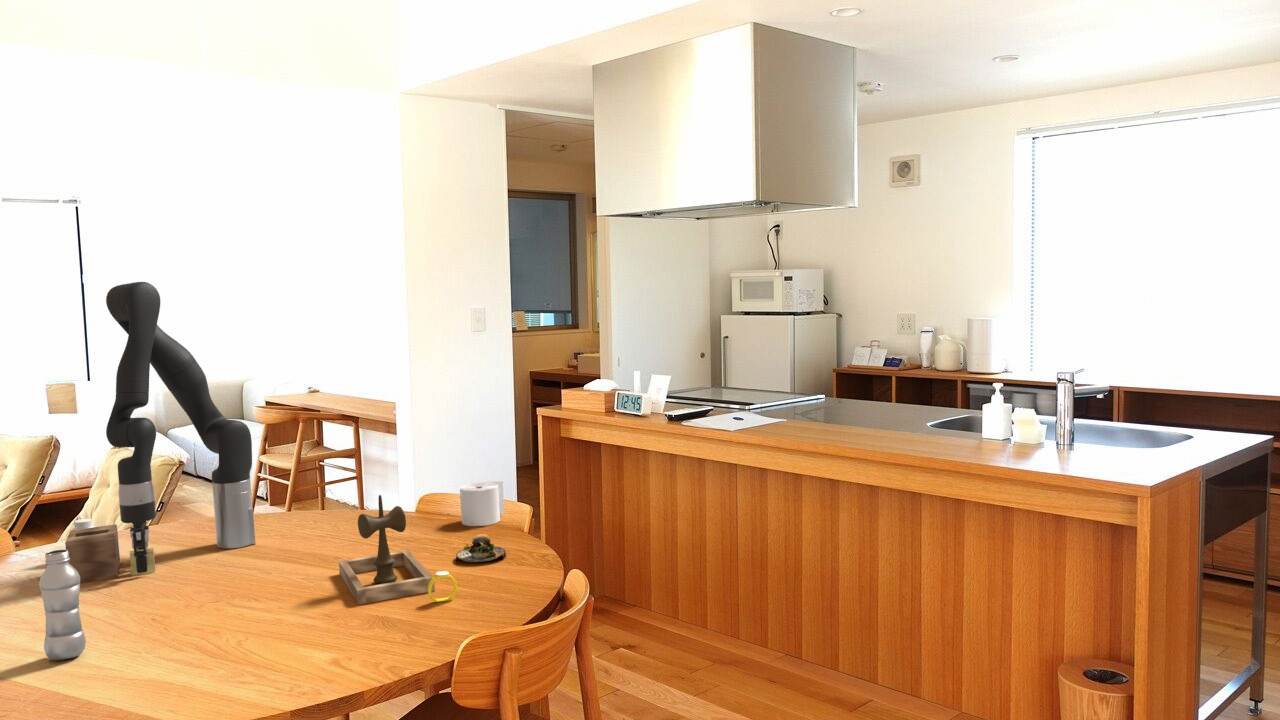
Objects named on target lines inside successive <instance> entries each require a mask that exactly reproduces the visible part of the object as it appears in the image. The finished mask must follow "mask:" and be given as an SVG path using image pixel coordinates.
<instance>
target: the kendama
mask: <svg viewBox="0 0 1280 720" xmlns="http://www.w3.org/2000/svg"><path fill="white" fill-rule="evenodd" d="M382 498H383V497H382V495H381V494H378V516H371V515H368V514H365V513H361V514H359V515H358V519H357V528H358V529H357V530H358V532H359V536H361V538H363V539H366V540H368V539H369V538H370V537H371V536H372V535H374V534H375V533H376V532H378V545H377V546H378V547H377V548H378V549H377V554H376V555H377V559H376V560H375V561H374V565H375V566H376V568H377V570H376V575H375V576H374V578H373V582H374V583H375V584H376V585H380V584H386V583H391V582H397V580H398V576H397V574H395V571H394V567H393V563H394V561H395V560H394V559H393V558H392V557H391V555H390V553H391V552H390V547H389V544H388V539H387V532H386V529H391V530H394V531H396V532H398V533H403V532H404V531H405V530H406V526H407V518H406V513H405V511H404V510H403V508H402V507H401V506H400V505H397V506H396V505H395V506H394V507H393V508H392V509H391V510H390V511H389V512H388V513H387V514H385V515H384V506H383V499H382Z"/></svg>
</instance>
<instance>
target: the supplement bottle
mask: <svg viewBox="0 0 1280 720" xmlns="http://www.w3.org/2000/svg"><path fill="white" fill-rule="evenodd" d="M73 523H74V525H73V526H74V528H73V529H72V530H77V529H85V528H93V527H96V526H95V525H93V519H92V518H81V519H76V520H74V522H73Z"/></svg>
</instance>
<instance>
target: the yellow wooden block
mask: <svg viewBox="0 0 1280 720" xmlns="http://www.w3.org/2000/svg"><path fill="white" fill-rule="evenodd" d="M154 550H155V549H154V547H151V548H150V547H148V548H146V552H147V556H146V558H147V572H143V573H138V572H137V567H136V558H135V556H134V550H129V558H130V559H129V560H130V571H131V572H130V573H131V576H132V577H133V576H140V575H146V574H154V573H156V563H155V551H154ZM137 551H144V550H143V549H141V550H137Z"/></svg>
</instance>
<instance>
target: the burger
mask: <svg viewBox="0 0 1280 720" xmlns="http://www.w3.org/2000/svg"><path fill="white" fill-rule="evenodd" d="M491 541H492V540H491V537H490V536H489V535H488V534H487V533H486V534H485V533H480V534H477V535H475V536H474V537H473V538H472V542H471V544H472V545H470V546H469V545H468V544H467V543H465V546H463V549H462V550H460V551H458V552H457V553H456V554H455V562H457V561H458V560H461V561H464V562H468V563H481V562H482V563H483V562H488V561H493V560H496V559H499V557H502V558H501V560H503V561H504V560H505V559H506V558H507V551H506V549H505V548H503V547H499V546H495V544H494V543H491Z"/></svg>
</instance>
